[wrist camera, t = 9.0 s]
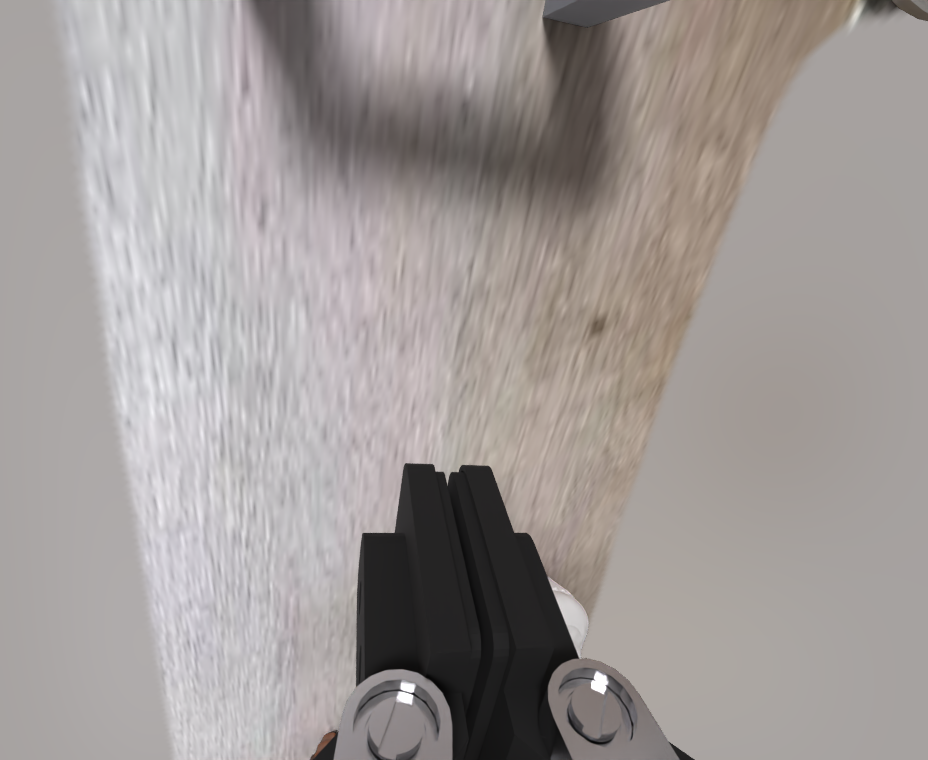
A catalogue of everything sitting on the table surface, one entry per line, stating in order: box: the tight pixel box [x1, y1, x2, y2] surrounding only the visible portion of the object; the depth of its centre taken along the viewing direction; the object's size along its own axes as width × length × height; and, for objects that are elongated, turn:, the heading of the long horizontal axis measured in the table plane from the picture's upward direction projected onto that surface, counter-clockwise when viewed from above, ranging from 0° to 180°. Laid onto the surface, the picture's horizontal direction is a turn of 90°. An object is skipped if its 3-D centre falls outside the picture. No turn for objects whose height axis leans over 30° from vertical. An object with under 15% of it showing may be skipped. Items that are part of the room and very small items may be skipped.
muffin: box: [547, 576, 589, 659], centre depth 34 cm, size 6×6×7 cm
